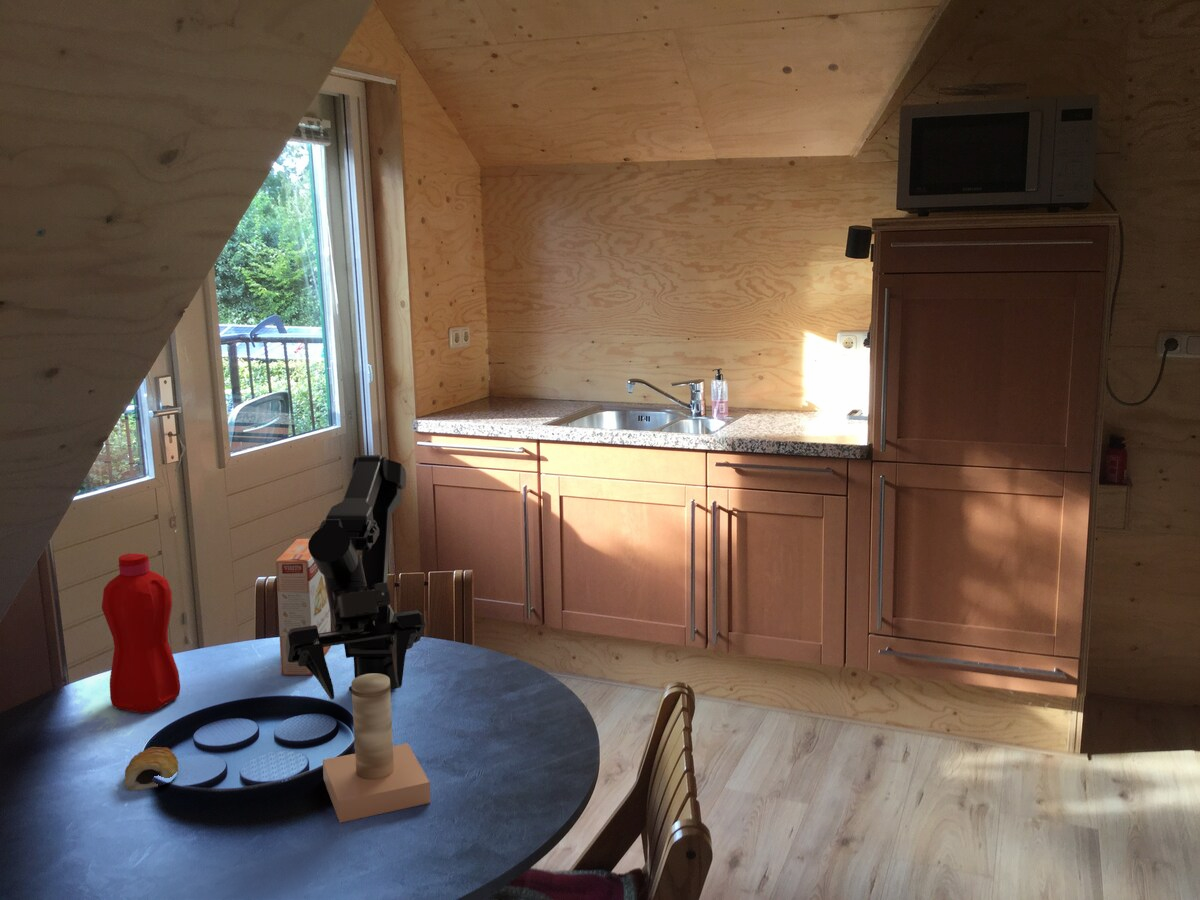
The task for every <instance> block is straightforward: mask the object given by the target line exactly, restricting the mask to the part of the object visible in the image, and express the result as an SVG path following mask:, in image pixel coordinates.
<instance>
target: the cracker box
mask: <svg viewBox="0 0 1200 900" xmlns="http://www.w3.org/2000/svg"><path fill="white" fill-rule="evenodd" d="M310 539H311V538H296V540H295V541H294V542H293V543H292V544H291V545H289V547H287V549H286V550H285V551H284V552H283V553H282V554H281V555H280V556H279V557H278V558H277V559H276V560H275V569H276V571H275V572H276V573H275V574H276V588H277V590H276V591H277V609H278V613H277V614H278V631H279V649H280V652H279V653H280V671H281V676H314V675H313V674H312V673H311V672H310V670H309V669H308V668H307V667H306V666H298V662H292V663H291V662H288V660H287V654H286V640H287V634H288V632H289V631H290V630H291V629H293V628H300V627H306V626H313V625H316V626H317V628H318V634H319V633H326V632H332V631H331V627H332V625H331V624H332V622H331V614H330V608H329V603H328V597H327V592H326V586H325V581H324V575H323V574H322V573H320V571H319V569H318V567H317V565H316V563H315V562H314V560H313V558H312V556H311V554H310V552H309V549H308V543H309V540H310ZM331 647H332V646H327V647H323V650H324V656H326V655H327V653H328V651H329V650H330V648H331Z"/></svg>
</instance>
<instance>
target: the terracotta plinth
mask: <svg viewBox="0 0 1200 900" xmlns="http://www.w3.org/2000/svg"><path fill="white" fill-rule="evenodd" d="M393 761H394V770H393V772H392V773H391V774H390V775H388V776H386V777H384V778H381V779H375V780H368V779H363V778H360V777H359V776H358V775H357V773H356V758H355V753H351V754H345V755H341V756H336V757H331V758H326V759H325V758H323V759H322V772H323V774H322V775H323V776H322V777H323V781H324V785H325V787H326V790H327V793H328V795H329V797H330V801H331V803H332V806H333V809H334V812H335V814H336V817H337V819H338V823H339V824H340V823H345V822H349V821H354V820H359V819H362V818H369V817H372V816H376V815H382V814H386V813H389V812H394V811H395V812H396V811H399V810H405V809H409V808H412V807H413V808H414V807H417V806H422V805H427V804H431V783H430V780H429V778H428V776H427V775H426V773H425V771H424V769H423V768H422V766H421V764H420V762H419V761H418V759H417V756H416V755H415V753H414V752H413V749H412V748H411V746H410V744H409V743H408V742H406V743H402V744H396V745H393Z"/></svg>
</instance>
